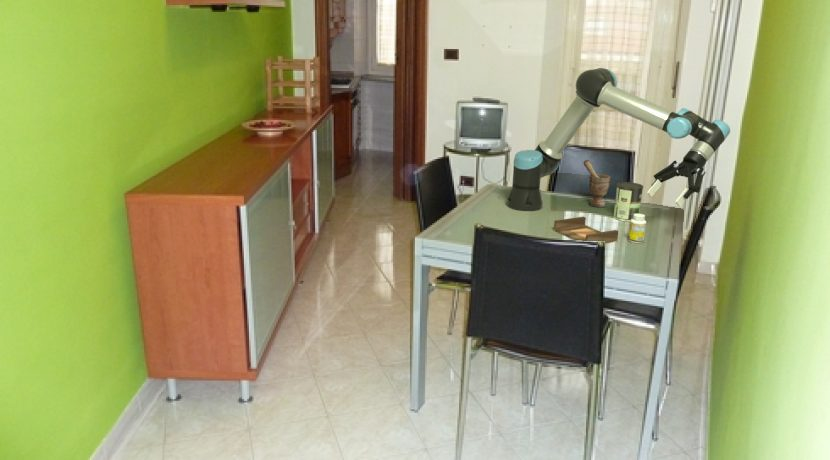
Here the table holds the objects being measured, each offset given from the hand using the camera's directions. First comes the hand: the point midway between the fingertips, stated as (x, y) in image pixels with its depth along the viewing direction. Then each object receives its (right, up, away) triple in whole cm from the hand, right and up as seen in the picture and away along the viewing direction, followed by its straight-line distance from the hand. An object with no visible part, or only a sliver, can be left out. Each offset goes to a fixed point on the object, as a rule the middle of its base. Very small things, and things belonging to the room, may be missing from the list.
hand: (662, 199), depth 245 cm
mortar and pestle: (-13, -1, +45) cm, 47 cm away
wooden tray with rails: (-28, -13, +5) cm, 31 cm away
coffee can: (-5, -7, +28) cm, 29 cm away
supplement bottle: (-10, -16, 0) cm, 19 cm away
